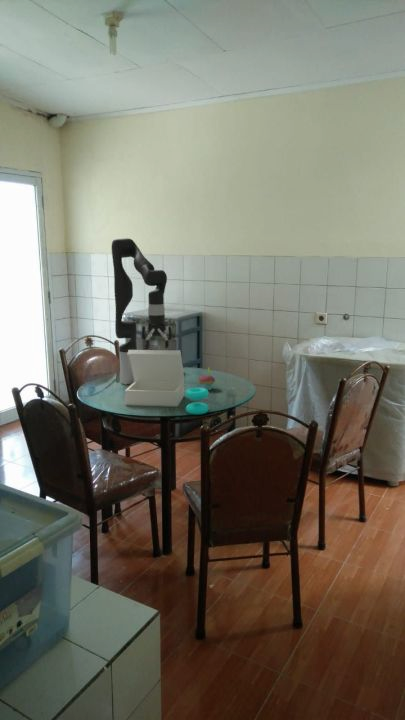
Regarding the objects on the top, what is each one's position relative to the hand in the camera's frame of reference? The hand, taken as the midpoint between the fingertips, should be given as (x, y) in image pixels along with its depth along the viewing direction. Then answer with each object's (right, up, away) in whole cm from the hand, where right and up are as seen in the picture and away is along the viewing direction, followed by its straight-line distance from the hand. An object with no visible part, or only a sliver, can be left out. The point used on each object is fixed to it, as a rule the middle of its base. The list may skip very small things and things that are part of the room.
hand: (157, 347), depth 242 cm
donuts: (+19, -28, -20) cm, 39 cm away
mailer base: (-1, -25, -2) cm, 25 cm away
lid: (-1, -10, -3) cm, 11 cm away
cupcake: (+23, -21, +17) cm, 35 cm away
